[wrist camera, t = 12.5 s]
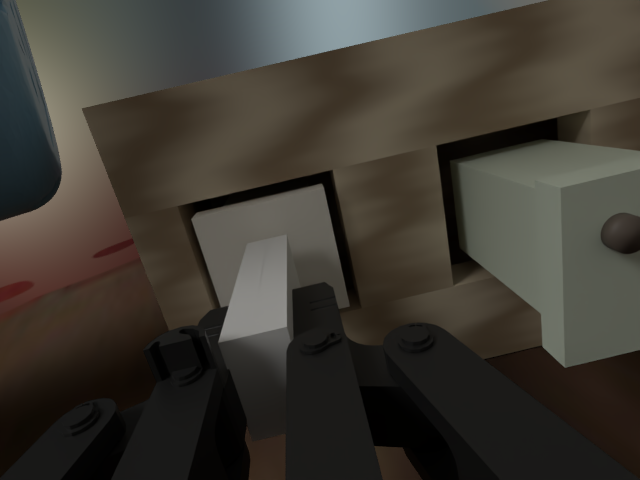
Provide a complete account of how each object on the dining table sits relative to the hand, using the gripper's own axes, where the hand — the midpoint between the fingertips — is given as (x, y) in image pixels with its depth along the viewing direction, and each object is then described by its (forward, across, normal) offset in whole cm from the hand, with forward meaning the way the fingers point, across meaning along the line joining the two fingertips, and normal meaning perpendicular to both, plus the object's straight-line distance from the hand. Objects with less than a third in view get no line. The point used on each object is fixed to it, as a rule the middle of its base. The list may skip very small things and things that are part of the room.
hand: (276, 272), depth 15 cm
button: (+5, 0, -2) cm, 5 cm away
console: (+6, +10, -7) cm, 14 cm away
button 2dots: (-1, +10, -2) cm, 10 cm away
